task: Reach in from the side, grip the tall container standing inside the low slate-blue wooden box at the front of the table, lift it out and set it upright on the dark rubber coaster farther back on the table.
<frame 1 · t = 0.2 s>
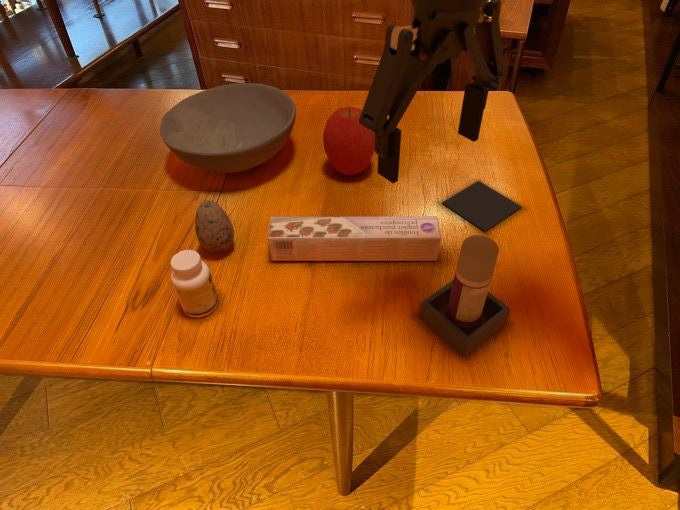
hand: (429, 156, 59), 23 cm above the table, tool pointing down, fingers open, 13 cm apart
open box: (461, 320, 70), on the table
bowl: (237, 156, 101), on the table
decorative egg: (219, 249, 82), on the table
box: (353, 251, 81), on the table
apple: (350, 170, 97), on the table
container: (461, 321, 70), resting in open box
coaster: (481, 206, 88), on the table
supplement bottle: (201, 305, 74), on the table
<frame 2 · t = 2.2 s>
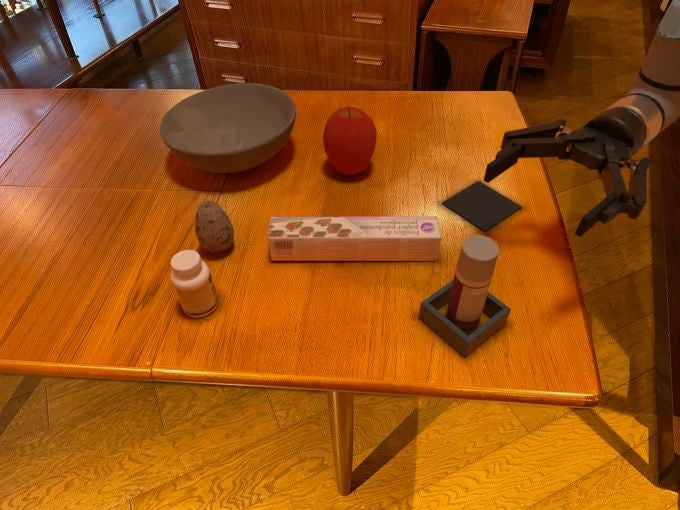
hand: (531, 199, 61), 18 cm above the table, tool horizontal, fingers open, 13 cm apart
nothing on the table moved.
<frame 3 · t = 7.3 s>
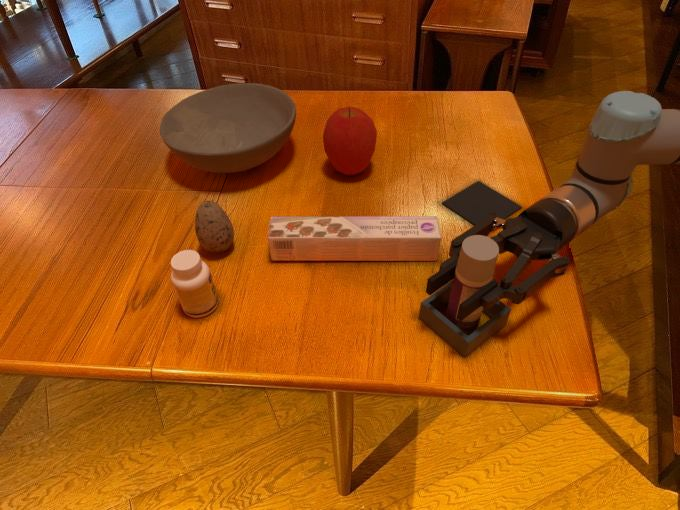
hand: (444, 299, 62), 9 cm above the table, tool horizontal, fingers closed on container, 5 cm apart
container: (461, 321, 70), resting in open box, touching gripper
everything else where it was.
when the fingers open (9 cm above the table, at t = 17.1 s): container stays where it is, resting on coaster.
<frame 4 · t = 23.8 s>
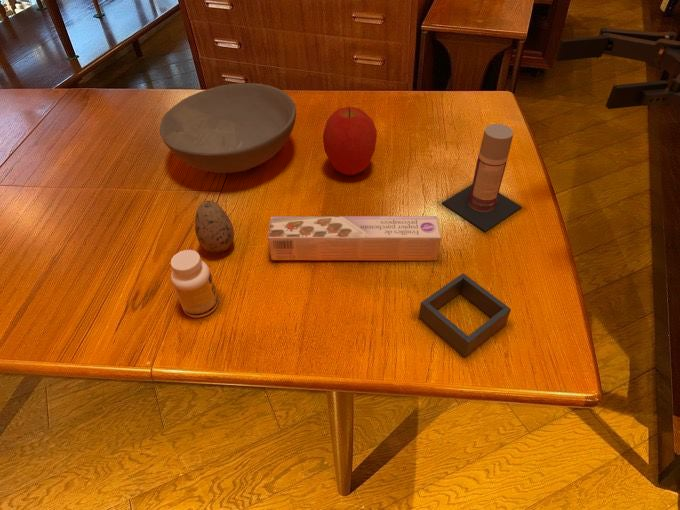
hand: (582, 72, 63), 28 cm above the table, tool horizontal, fingers open, 13 cm apart
container: (481, 205, 88), resting on coaster
everything else where it was.
at the end: container inside the target area on the coaster (0.0 cm from its centre), point 0.2 cm above the coaster's base; container tilted 0°; the gripper is holding nothing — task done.
